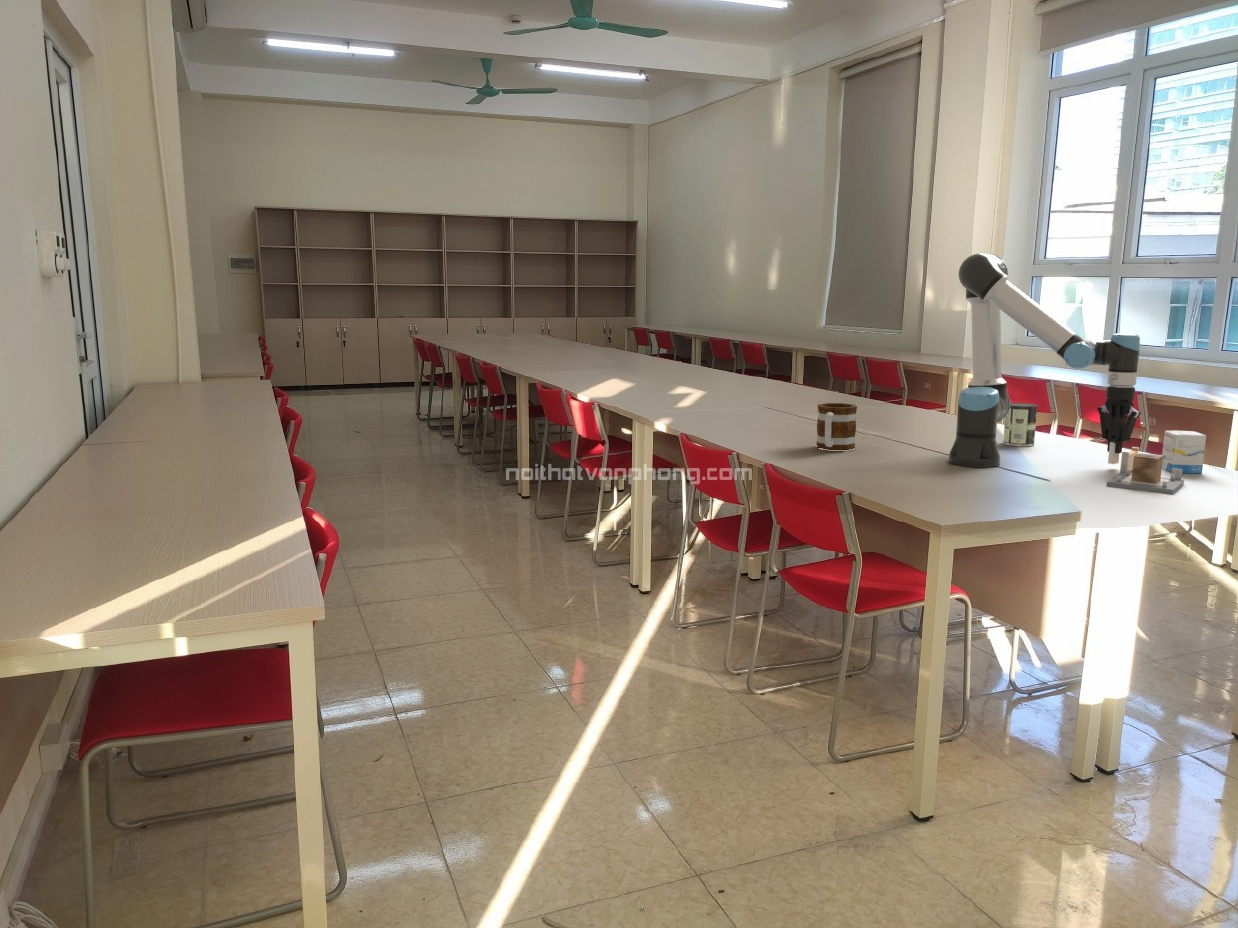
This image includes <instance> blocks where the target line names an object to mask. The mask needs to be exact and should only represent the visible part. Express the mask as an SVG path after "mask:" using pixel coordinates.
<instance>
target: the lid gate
mask: <svg viewBox="0 0 1238 928" xmlns="http://www.w3.org/2000/svg"><path fill="white" fill-rule="evenodd" d="M1139 451H1140V447H1138V446H1132V447H1131V451H1129V459H1128V468H1127V470H1131V471H1130V473H1132V469H1133V460H1134V456H1135V455H1136V454H1138V453H1139Z"/></svg>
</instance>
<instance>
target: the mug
mask: <svg viewBox="0 0 1238 928" xmlns="http://www.w3.org/2000/svg"><path fill="white" fill-rule="evenodd" d="M857 409H858V405H856V404H852V403H851V404H850V403H843V402H829V403H828V402H825V403H820V404H817V420H816V421H817V423H816V434H817V435H816V437H817V438H816V444H815V445H817V446H818V448H823V449H828V450H849V449H853V448H855V449H856V443H855V442H856V431H857V426H856V425H857V421H856V419H857Z"/></svg>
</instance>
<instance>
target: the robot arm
mask: <svg viewBox="0 0 1238 928" xmlns="http://www.w3.org/2000/svg"><path fill="white" fill-rule="evenodd" d="M1008 276H1009V270H1008V267H1007V264H1006V262H1005V261H1004V260H1003V259H1002V258H1000V257H999V256H998V255H995V254H991V253H987V254H986V253H975V254H972V255H970V256H968V257H967V258H965V259H964V260H963V261H962V263H961V265H960V266H959V269H958V280H959V282H960V284H961V286H962V287H964V288H965V299H966V300H965V301H967V302H968V303H970V304H971V305H970V306H971V342H972V343H971V344H972V346H971V349H972V379H971V380H970V381H969V382H968V383H967V385H968V386H967V387H966V388H963V389H962V390H960V392H959V394H958V398H957V417H956V431H955V432H956V434H955V439H954V442H953V444H952V446H951V449H950V451H949V453H948V462H949V463H950V464H953V465H956V466H957V465H958V466H963V467H972V468H973V467H974V468H991V467H992V468H993V467H997V466H1000V464H1001V454H1000V452H999V448H998V444H997V443H998V442H997V440H996V439H997V425H998V423H999V422H1001V421H1002V420H1003V419H1005V416H1006V415H1007V413H1008V411H1009V408H1010V403H1011V399H1010V396H1009V394H1008V382H1007V381H1006V380H1005V379H1004V378H1003V376H1002V330H1001V328H1002V327H1001V326H1002V325H1001V320H1002V319H1001V312H1003V313H1005V314H1006V315H1007V316H1008V317H1010V318H1011V319H1012V320H1013V321H1015V322H1016V323H1017V324H1019V325H1020V326H1021V327H1022V328H1023V329H1025V330H1026V331H1028V332H1029V333H1030V334H1032V336H1034V337H1035V338H1036V339H1038V340H1039V341H1040V342H1042V343H1043V344H1044V345H1045V346H1046V347H1048V348H1049V349H1050V350H1051V351H1053V352H1054V353H1056V354H1057V355H1058V356H1059V357H1061V358H1062V359H1063V360H1064V361H1065V364H1066V365H1067V366H1068V367H1070V368H1072V369H1077V370H1078V369H1080V370H1081V369H1086V368H1088V367H1089V366H1108V370H1107V371H1108V372H1107V382H1106V383H1107V386H1106V391H1105V398H1106V401H1105V403H1104V405H1102V406H1098V407H1097V408H1096V409H1097V412H1098V414H1099V421H1100V430H1101V438H1102V439H1104V440H1106V441H1107V448H1106V449H1107V452H1108V458H1107V459H1108V460H1107V464H1110V465H1116V464H1119V461H1120V454H1122V452H1123V444H1124V442H1125V443H1126V442H1129V441H1130V440H1131V437H1132V434H1133V432H1134V428H1135V425H1136V423H1137V419H1138V418H1139V416H1140V415H1141V414H1142V413H1141V411H1140V410H1136V408H1134V407H1135V406H1134V402H1133V401H1134V399H1135V395H1136V388H1135V387H1134V386H1136V384H1137V377H1138V376H1137V375H1138V366H1139V357H1140V350H1141V349H1140V346H1141V344H1140V343H1141V342H1140V341H1141V337H1140V335H1138V334H1136V333H1113V334H1111V337H1110V339H1105V340H1104V339H1103V340H1101V339H1100V340H1099V339H1098V340H1097V339H1084V338H1083V337H1081V336H1080V335H1079V334H1077V333H1076V332H1075V331H1073V330H1072V329H1071V328H1069V327H1068V326H1067V325H1066V324H1064V323H1063V322H1062V321H1060V320H1059V319H1058V318H1056V317H1055V316H1054V315H1052V314H1051V313H1050V312H1049V311H1047V310H1046V309H1044V307H1042V306H1040V305H1039V304H1038V303H1037V302H1036V301H1034V300H1033V299H1032V298H1030V297H1029V296H1028V295H1026V293H1024V292H1022V291H1021V290H1020V289H1019V288H1017V287H1016V286H1015V285H1013V284H1012V283H1011V282H1010V281H1009V278H1008Z"/></svg>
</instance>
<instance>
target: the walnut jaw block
mask: <svg viewBox="0 0 1238 928" xmlns="http://www.w3.org/2000/svg"><path fill="white" fill-rule="evenodd" d="M1162 461H1163V455H1162V454H1153V453H1152V454H1151V453H1142V452H1141V453H1140V452H1138V454H1136V455H1135V456H1134V460H1133V469H1132V471H1131V474H1132V478H1131V481H1138V482H1146V483H1154V484H1156V483H1157V482H1159V481H1160V478H1161V477H1162V470H1163V468H1162Z"/></svg>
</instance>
